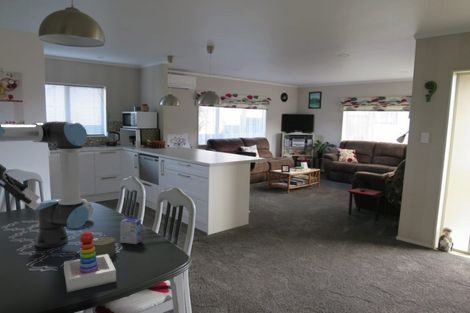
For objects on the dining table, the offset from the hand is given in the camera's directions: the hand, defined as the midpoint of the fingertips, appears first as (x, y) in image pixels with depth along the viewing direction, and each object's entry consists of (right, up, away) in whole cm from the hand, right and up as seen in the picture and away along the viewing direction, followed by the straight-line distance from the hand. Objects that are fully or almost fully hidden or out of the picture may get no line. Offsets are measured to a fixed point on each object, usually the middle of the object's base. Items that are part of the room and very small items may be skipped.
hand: (37, 203), depth 135 cm
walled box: (+19, -32, +4) cm, 38 cm away
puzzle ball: (-18, -23, +76) cm, 81 cm away
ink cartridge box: (+24, -28, +44) cm, 58 cm away
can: (+15, -29, +28) cm, 44 cm away
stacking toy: (+19, -31, +4) cm, 37 cm away
